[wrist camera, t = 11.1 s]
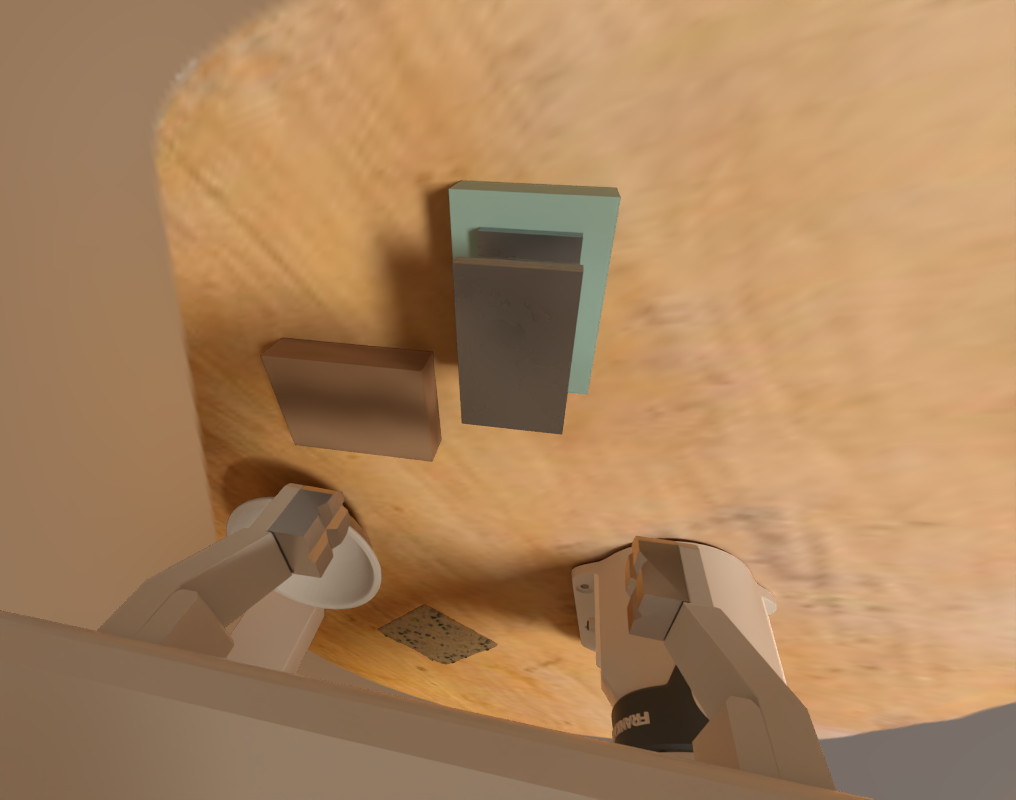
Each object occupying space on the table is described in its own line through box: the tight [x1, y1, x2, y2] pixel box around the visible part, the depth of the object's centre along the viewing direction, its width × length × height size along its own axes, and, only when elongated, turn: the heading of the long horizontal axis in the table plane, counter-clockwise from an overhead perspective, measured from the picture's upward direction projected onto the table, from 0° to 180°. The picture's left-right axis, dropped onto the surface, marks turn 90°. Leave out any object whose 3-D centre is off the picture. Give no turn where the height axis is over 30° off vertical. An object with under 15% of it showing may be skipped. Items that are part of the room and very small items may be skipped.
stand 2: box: [449, 181, 621, 394], centre depth 23 cm, size 11×8×2 cm
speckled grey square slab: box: [378, 604, 497, 664], centre depth 54 cm, size 12×12×1 cm
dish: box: [226, 497, 382, 609], centre depth 39 cm, size 18×14×5 cm
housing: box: [452, 227, 583, 434], centre depth 20 cm, size 5×8×6 cm, turn 179°
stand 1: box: [260, 338, 442, 462], centre depth 30 cm, size 8×11×2 cm
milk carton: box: [226, 590, 324, 674], centre depth 45 cm, size 7×7×19 cm
